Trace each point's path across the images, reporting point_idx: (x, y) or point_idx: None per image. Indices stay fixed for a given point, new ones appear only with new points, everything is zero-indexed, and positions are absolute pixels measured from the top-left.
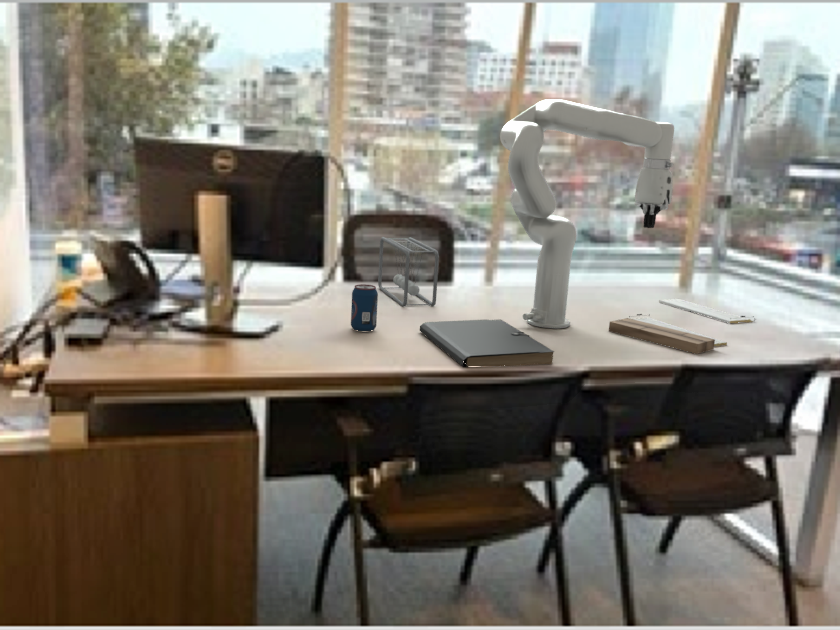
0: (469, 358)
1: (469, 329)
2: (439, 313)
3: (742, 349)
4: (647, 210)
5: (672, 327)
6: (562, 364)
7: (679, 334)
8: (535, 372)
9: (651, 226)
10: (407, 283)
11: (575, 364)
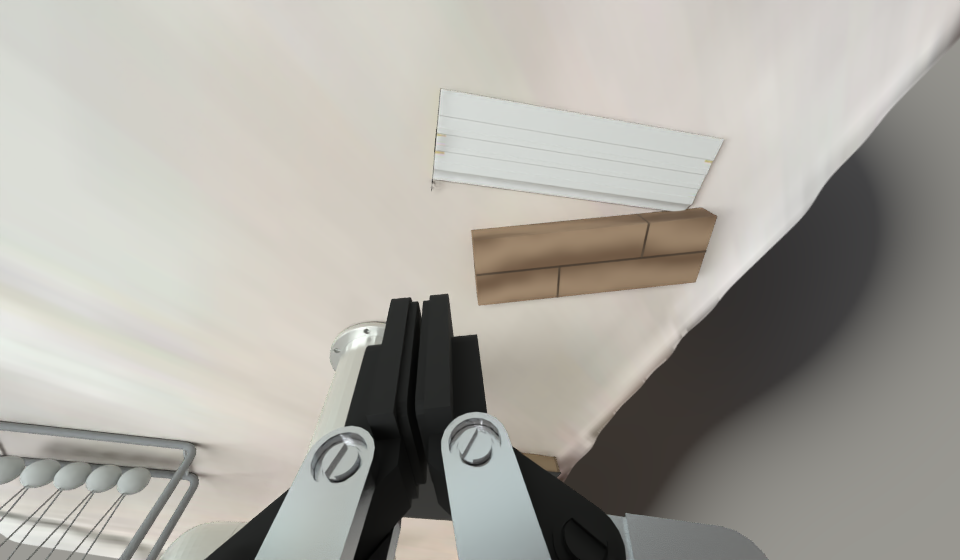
0: None
1: (423, 496)
2: (253, 453)
3: (760, 137)
4: (382, 532)
5: (556, 136)
6: (563, 450)
7: (638, 254)
8: (563, 479)
9: (453, 336)
10: (175, 523)
11: (573, 440)
